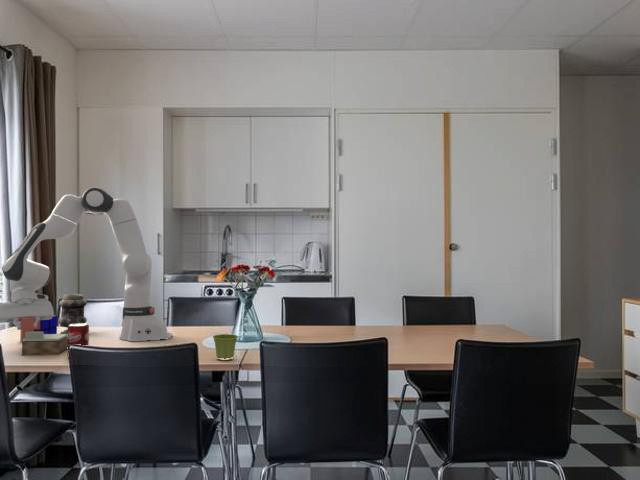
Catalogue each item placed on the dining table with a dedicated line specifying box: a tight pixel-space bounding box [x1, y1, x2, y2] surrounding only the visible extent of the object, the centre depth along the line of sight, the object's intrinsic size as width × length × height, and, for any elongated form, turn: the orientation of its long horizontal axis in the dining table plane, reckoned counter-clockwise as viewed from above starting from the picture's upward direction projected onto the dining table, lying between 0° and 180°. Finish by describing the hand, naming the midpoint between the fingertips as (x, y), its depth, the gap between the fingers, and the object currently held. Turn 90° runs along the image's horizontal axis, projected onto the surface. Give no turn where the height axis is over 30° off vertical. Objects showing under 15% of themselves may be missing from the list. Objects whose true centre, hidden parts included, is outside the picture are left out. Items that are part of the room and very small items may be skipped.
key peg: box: [19, 317, 34, 344], centre depth 202 cm, size 4×4×10 cm
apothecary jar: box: [57, 293, 88, 334], centre depth 237 cm, size 12×12×18 cm
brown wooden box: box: [21, 337, 67, 356], centre depth 195 cm, size 13×10×5 cm
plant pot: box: [212, 333, 239, 359], centre depth 188 cm, size 9×9×9 cm
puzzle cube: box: [34, 315, 58, 334], centre depth 221 cm, size 10×10×10 cm
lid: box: [23, 332, 68, 341], centre depth 195 cm, size 13×10×3 cm
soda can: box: [66, 322, 90, 357], centre depth 189 cm, size 7×7×12 cm
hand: (27, 328), depth 202 cm, fingers closed on key peg, 4 cm apart
